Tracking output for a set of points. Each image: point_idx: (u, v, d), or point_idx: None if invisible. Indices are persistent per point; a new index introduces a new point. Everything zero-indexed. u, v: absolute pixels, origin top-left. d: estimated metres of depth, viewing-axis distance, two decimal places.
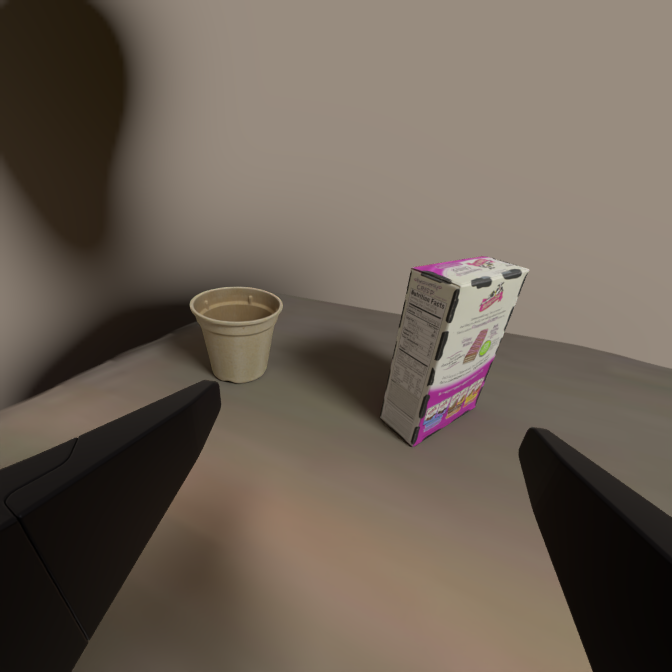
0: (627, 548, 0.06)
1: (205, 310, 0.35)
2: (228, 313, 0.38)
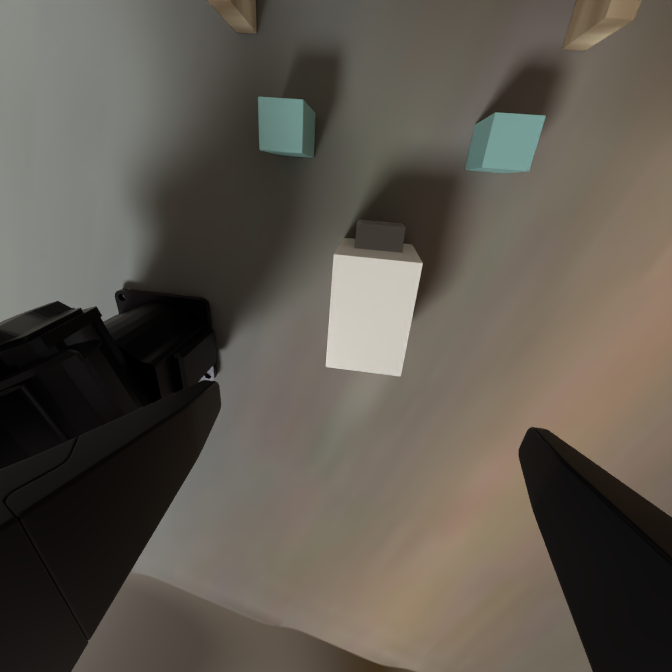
0: (627, 548, 0.06)
1: None
2: None
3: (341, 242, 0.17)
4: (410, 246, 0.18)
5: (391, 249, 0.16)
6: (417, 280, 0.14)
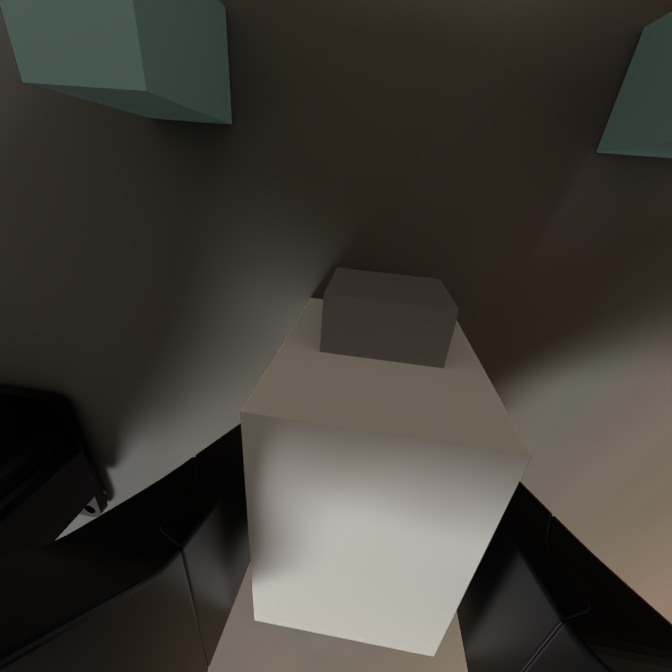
0: None
1: None
2: None
3: (295, 321, 0.07)
4: None
5: (416, 360, 0.06)
6: (505, 495, 0.05)
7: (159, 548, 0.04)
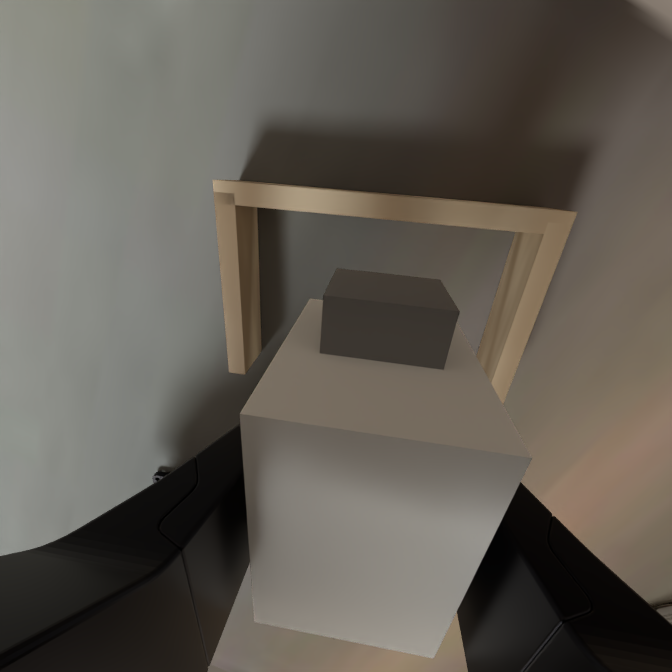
0: None
1: None
2: None
3: (295, 322, 0.07)
4: None
5: (416, 361, 0.06)
6: (506, 497, 0.05)
7: (159, 548, 0.04)
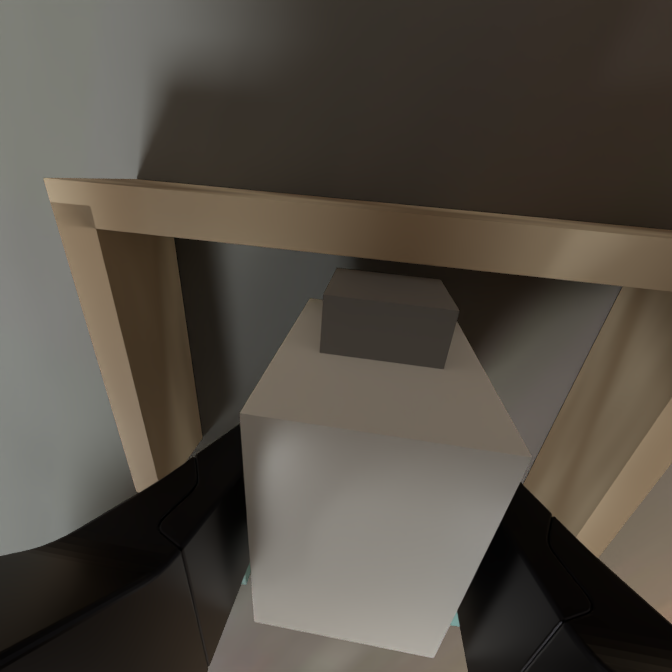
0: None
1: None
2: None
3: (295, 322, 0.07)
4: None
5: (416, 360, 0.06)
6: (506, 497, 0.05)
7: (159, 548, 0.04)
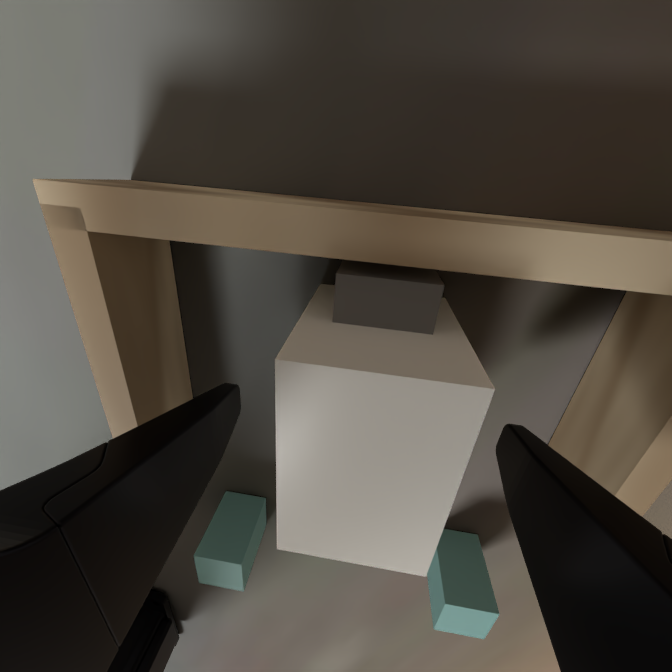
0: (589, 542, 0.06)
1: None
2: None
3: (310, 300, 0.09)
4: (444, 306, 0.09)
5: (410, 327, 0.07)
6: (477, 423, 0.06)
7: (36, 525, 0.04)
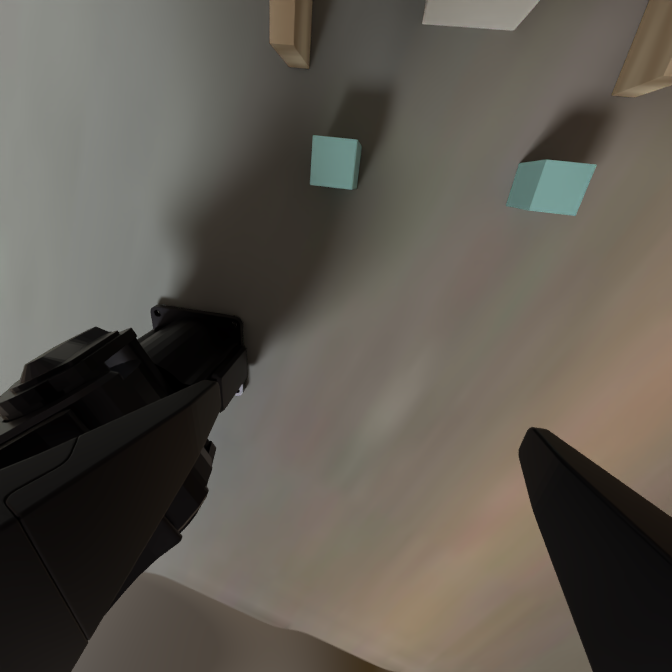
0: (627, 548, 0.06)
1: None
2: None
3: None
4: None
5: None
6: None
7: None
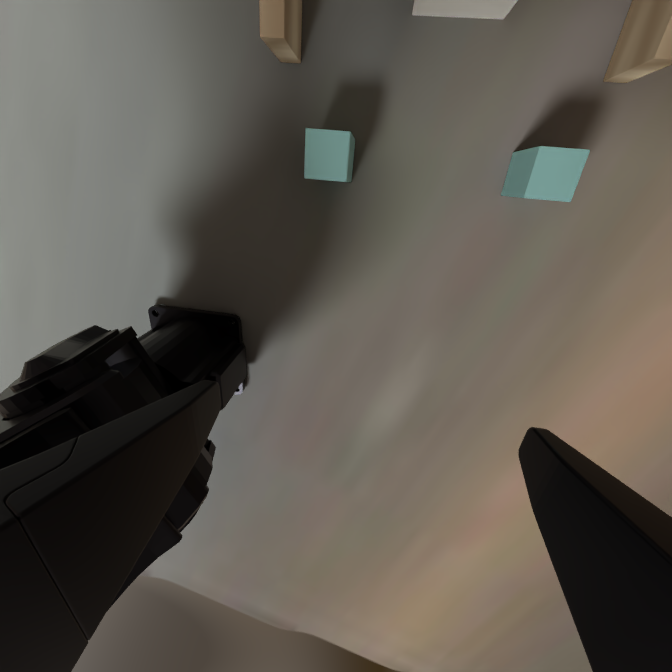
0: (627, 548, 0.06)
1: None
2: None
3: None
4: None
5: None
6: None
7: None
